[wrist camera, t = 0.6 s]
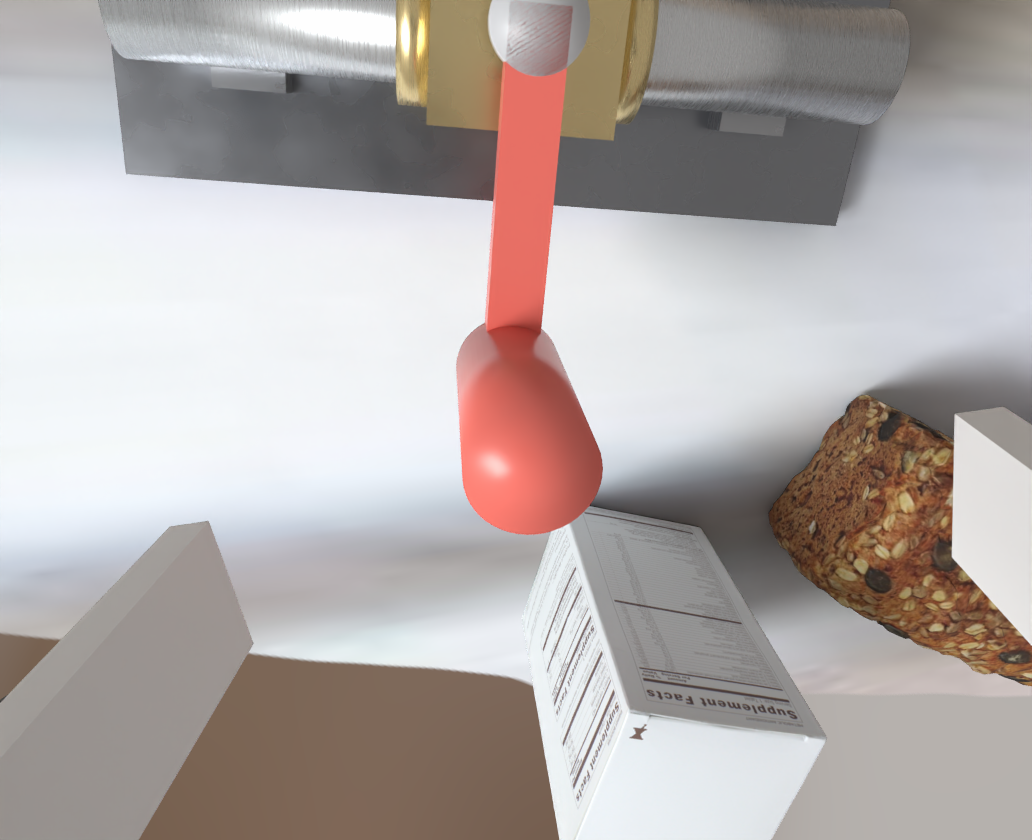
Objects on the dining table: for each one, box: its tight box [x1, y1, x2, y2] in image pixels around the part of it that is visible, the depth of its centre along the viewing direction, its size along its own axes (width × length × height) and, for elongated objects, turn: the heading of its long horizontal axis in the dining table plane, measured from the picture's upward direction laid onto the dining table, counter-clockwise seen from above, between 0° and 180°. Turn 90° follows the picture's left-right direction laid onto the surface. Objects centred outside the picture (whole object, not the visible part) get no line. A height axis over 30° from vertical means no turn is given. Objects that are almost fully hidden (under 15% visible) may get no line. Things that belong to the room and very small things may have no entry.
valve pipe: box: [98, 0, 910, 226], centre depth 30 cm, size 34×14×11 cm, turn 85°
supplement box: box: [522, 506, 827, 840], centre depth 40 cm, size 10×9×17 cm
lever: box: [456, 0, 603, 535], centre depth 24 cm, size 16×4×9 cm, turn 175°
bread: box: [769, 395, 1032, 686], centre depth 44 cm, size 19×11×10 cm, turn 61°
